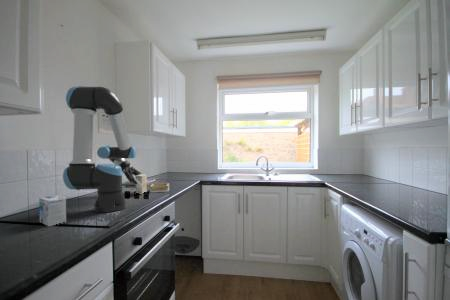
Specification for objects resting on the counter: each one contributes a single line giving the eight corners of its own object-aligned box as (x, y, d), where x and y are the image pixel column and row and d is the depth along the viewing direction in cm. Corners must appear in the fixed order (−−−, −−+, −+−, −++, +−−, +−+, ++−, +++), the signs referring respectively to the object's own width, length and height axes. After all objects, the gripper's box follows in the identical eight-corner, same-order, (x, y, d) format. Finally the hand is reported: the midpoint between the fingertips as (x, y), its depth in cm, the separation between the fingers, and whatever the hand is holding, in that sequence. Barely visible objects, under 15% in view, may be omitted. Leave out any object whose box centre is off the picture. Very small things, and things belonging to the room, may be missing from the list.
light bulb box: (39, 222, 101) (38, 197, 101) (57, 218, 107) (56, 194, 106) (48, 226, 95) (48, 200, 95) (67, 222, 101) (66, 197, 100)
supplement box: (140, 192, 164) (139, 174, 164) (147, 192, 164) (146, 173, 163) (135, 195, 156) (135, 175, 155) (142, 194, 155) (142, 175, 155)
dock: (168, 191, 165) (167, 185, 165) (149, 192, 163) (149, 186, 163) (169, 188, 177) (169, 183, 177) (152, 189, 175) (152, 183, 175)
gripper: (126, 166, 172) (146, 186, 172) (109, 169, 147) (133, 192, 147) (133, 158, 172) (153, 178, 172) (117, 161, 147) (141, 184, 147)
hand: (144, 185), depth 160 cm, fingers open, 13 cm apart
